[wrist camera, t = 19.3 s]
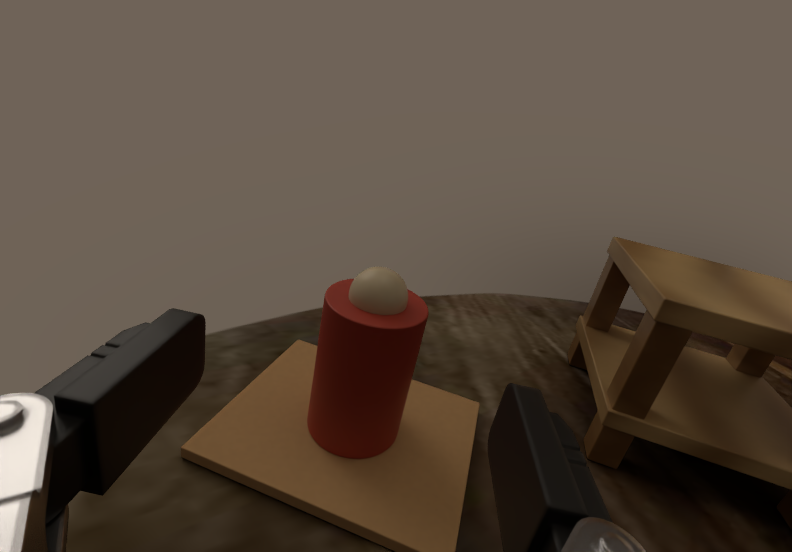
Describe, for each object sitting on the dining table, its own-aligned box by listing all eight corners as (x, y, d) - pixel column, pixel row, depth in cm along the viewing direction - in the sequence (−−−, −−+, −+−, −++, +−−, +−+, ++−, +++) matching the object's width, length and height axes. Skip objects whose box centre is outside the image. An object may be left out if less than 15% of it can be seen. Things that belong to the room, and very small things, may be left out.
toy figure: (408, 410, 22) (445, 268, 19) (381, 474, 18) (423, 306, 15) (331, 382, 23) (354, 241, 20) (289, 437, 19) (309, 270, 16)
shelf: (726, 403, 31) (803, 284, 27) (836, 552, 20) (990, 387, 16) (564, 352, 33) (613, 236, 29) (583, 460, 22) (664, 297, 18)
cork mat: (477, 410, 24) (479, 402, 24) (449, 576, 15) (453, 566, 15) (297, 346, 27) (298, 339, 26) (180, 457, 18) (180, 447, 17)
